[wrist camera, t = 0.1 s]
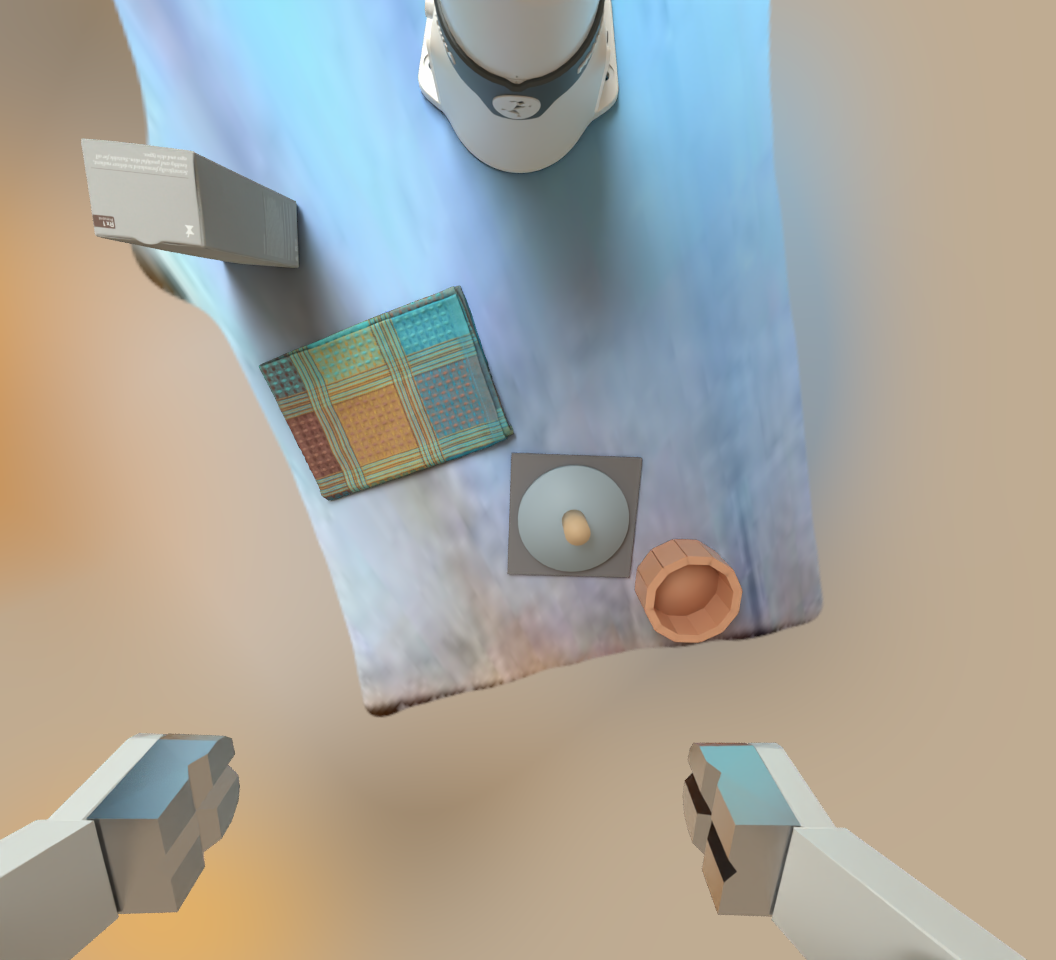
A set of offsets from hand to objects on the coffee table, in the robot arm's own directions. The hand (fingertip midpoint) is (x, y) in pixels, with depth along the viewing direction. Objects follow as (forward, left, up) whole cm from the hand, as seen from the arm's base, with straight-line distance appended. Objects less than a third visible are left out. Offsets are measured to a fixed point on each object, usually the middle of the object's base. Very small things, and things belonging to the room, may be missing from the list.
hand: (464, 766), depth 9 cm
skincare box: (-17, -26, -48) cm, 57 cm away
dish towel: (-1, -13, -49) cm, 50 cm away
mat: (+12, +8, -48) cm, 50 cm away
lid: (+12, +8, -47) cm, 50 cm away
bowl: (+20, +22, -48) cm, 56 cm away
